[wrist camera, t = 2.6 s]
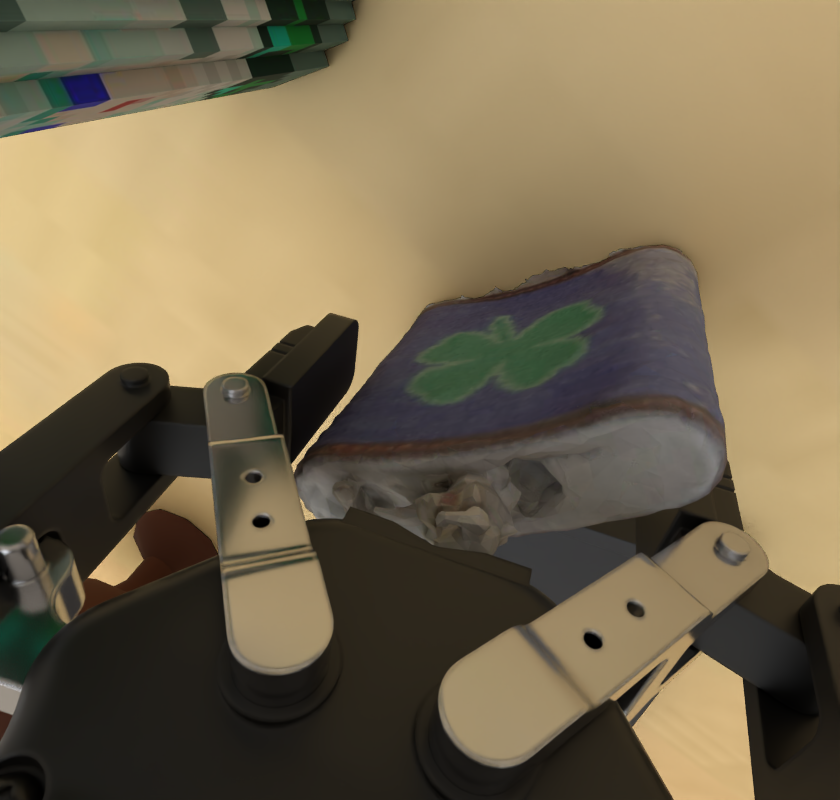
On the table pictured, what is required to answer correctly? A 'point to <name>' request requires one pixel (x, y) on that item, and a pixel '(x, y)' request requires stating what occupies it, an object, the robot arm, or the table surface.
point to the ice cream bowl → (149, 561)
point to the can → (152, 54)
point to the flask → (533, 409)
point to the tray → (573, 559)
